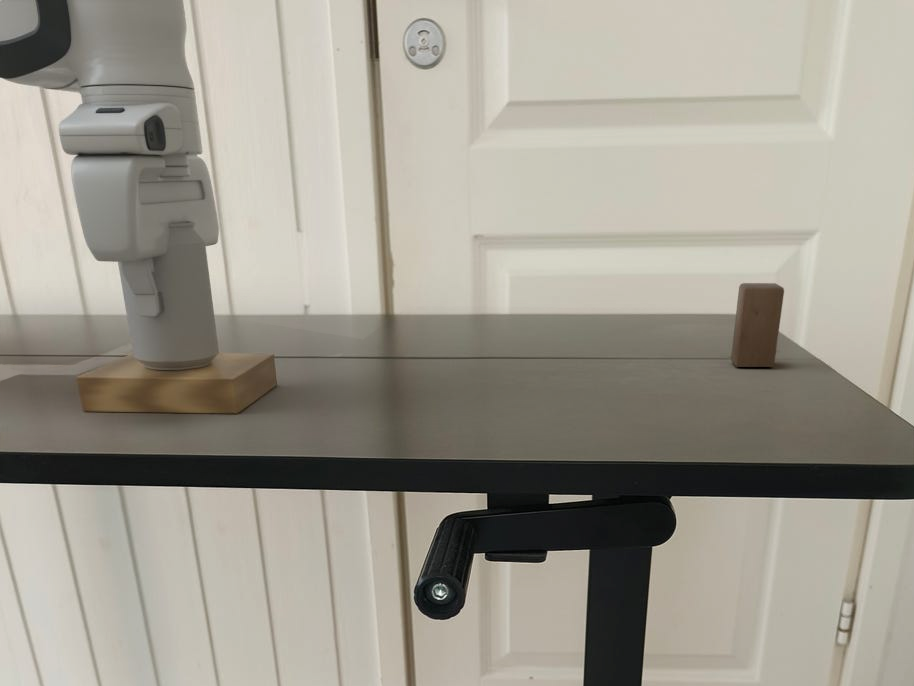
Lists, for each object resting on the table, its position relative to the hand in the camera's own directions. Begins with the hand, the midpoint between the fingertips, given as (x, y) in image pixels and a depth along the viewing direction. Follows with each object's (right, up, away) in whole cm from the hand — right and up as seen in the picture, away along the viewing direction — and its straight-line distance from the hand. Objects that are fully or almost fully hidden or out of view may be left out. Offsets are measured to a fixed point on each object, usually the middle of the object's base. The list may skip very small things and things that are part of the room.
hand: (171, 308), depth 81 cm
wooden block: (+56, 0, +16) cm, 59 cm away
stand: (0, -7, +4) cm, 8 cm away
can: (0, -4, +2) cm, 5 cm away
